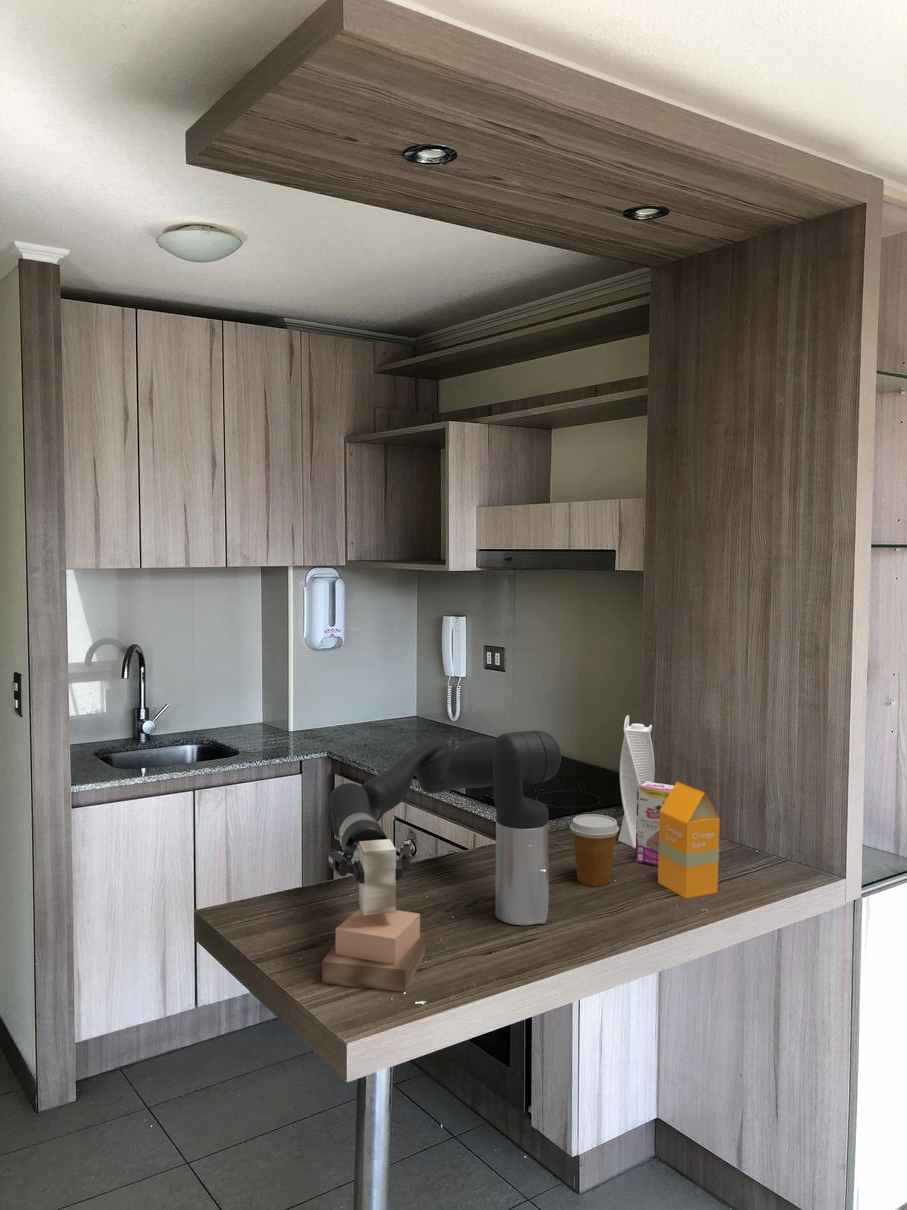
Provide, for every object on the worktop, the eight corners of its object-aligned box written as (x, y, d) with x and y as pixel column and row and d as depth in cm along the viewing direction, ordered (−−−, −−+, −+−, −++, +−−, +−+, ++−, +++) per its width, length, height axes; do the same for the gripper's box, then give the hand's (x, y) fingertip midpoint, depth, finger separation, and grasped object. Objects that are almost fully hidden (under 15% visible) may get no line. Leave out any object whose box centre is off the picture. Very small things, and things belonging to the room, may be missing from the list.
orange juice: (685, 898, 178) (687, 794, 176) (656, 882, 186) (659, 782, 184) (718, 892, 181) (721, 789, 179) (689, 876, 189) (692, 778, 187)
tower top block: (419, 937, 152) (419, 913, 152) (395, 964, 143) (395, 938, 142) (363, 928, 155) (363, 904, 155) (335, 954, 146) (335, 928, 146)
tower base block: (425, 957, 154) (425, 933, 154) (405, 995, 141) (405, 969, 141) (348, 949, 157) (348, 926, 156) (322, 986, 144) (322, 961, 144)
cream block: (389, 899, 152) (390, 839, 151) (395, 912, 147) (396, 849, 146) (358, 902, 151) (358, 841, 150) (363, 915, 146) (363, 852, 145)
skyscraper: (610, 839, 212) (612, 715, 209) (637, 834, 215) (639, 712, 213) (632, 850, 205) (635, 722, 202) (659, 845, 208) (662, 719, 206)
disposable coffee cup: (586, 868, 194) (587, 810, 193) (627, 879, 187) (628, 820, 186) (559, 880, 186) (560, 821, 185) (601, 893, 180) (602, 831, 179)
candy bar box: (634, 862, 197) (635, 785, 196) (643, 855, 201) (644, 780, 200) (686, 873, 191) (688, 793, 190) (694, 866, 195) (696, 788, 194)
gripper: (404, 858, 164) (425, 895, 148) (321, 865, 161) (333, 903, 144) (404, 816, 164) (425, 848, 147) (321, 821, 160) (333, 855, 144)
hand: (379, 875), depth 146 cm, fingers closed on cream block, 5 cm apart
